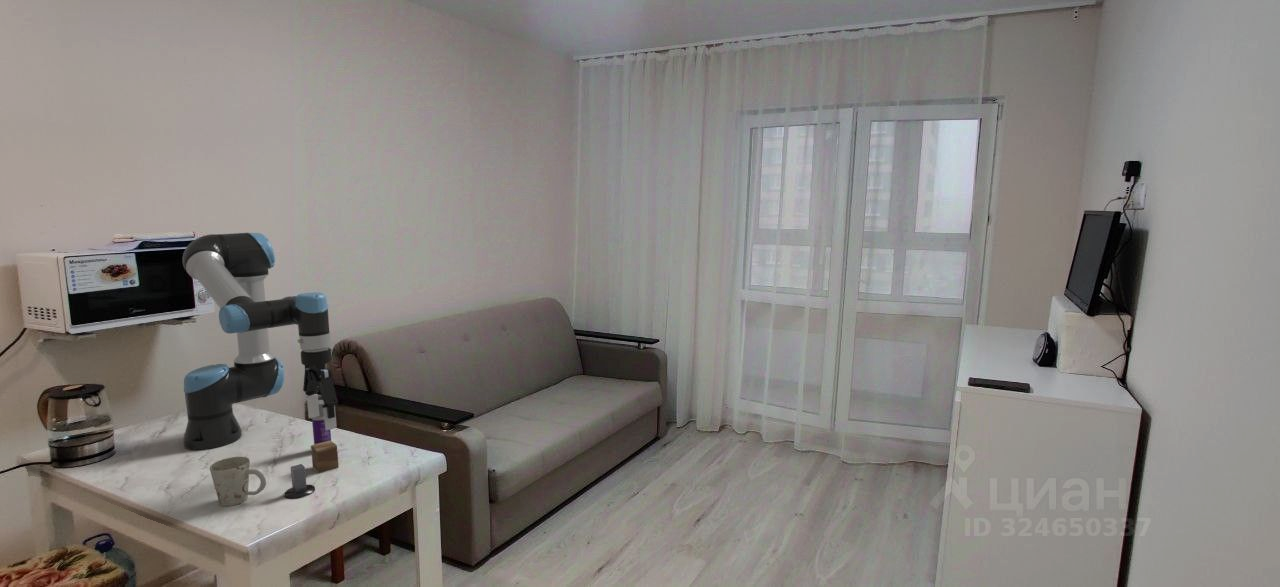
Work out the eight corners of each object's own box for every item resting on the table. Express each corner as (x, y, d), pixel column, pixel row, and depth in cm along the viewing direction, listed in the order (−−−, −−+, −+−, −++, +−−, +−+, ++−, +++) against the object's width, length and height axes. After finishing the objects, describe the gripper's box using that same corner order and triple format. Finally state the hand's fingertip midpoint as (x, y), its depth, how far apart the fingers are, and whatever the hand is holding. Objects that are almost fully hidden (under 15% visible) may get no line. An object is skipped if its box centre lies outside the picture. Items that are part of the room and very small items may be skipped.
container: (324, 453, 185) (320, 405, 183) (311, 451, 186) (306, 404, 184) (335, 447, 190) (331, 400, 188) (322, 445, 191) (318, 399, 188)
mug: (226, 493, 160) (222, 457, 159) (276, 491, 161) (273, 455, 160) (206, 509, 152) (202, 471, 150) (260, 507, 153) (256, 469, 151)
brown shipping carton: (312, 467, 175) (310, 445, 174) (332, 461, 179) (330, 440, 178) (319, 473, 172) (317, 450, 171) (338, 467, 176) (336, 445, 174)
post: (280, 492, 161) (278, 466, 160) (309, 483, 166) (307, 458, 165) (289, 501, 156) (286, 475, 155) (318, 492, 161) (316, 466, 160)
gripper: (286, 344, 176) (293, 415, 179) (316, 359, 159) (323, 437, 162) (314, 339, 181) (321, 409, 185) (347, 354, 164) (353, 430, 167)
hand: (322, 422), depth 173 cm, fingers open, 13 cm apart
